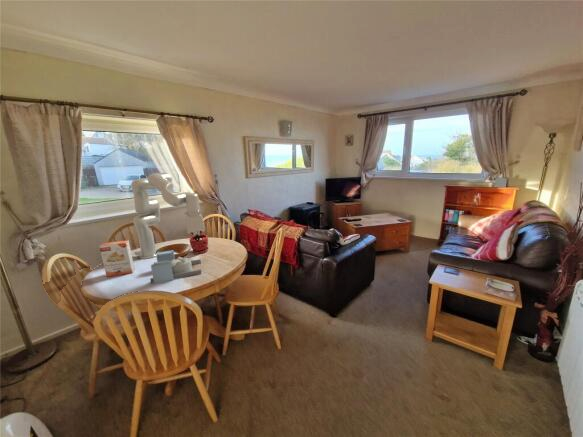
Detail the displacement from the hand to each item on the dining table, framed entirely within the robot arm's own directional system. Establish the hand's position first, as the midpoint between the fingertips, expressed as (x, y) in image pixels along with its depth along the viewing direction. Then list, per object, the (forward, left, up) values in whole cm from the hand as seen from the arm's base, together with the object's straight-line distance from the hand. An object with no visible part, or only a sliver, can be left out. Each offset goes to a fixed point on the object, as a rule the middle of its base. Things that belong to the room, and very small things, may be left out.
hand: (197, 240), depth 150 cm
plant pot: (0, +30, -19) cm, 36 cm away
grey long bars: (-14, 0, -19) cm, 24 cm away
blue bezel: (-21, 0, -19) cm, 28 cm away
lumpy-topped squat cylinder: (-12, 0, -19) cm, 23 cm away
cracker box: (-48, +13, -19) cm, 53 cm away
